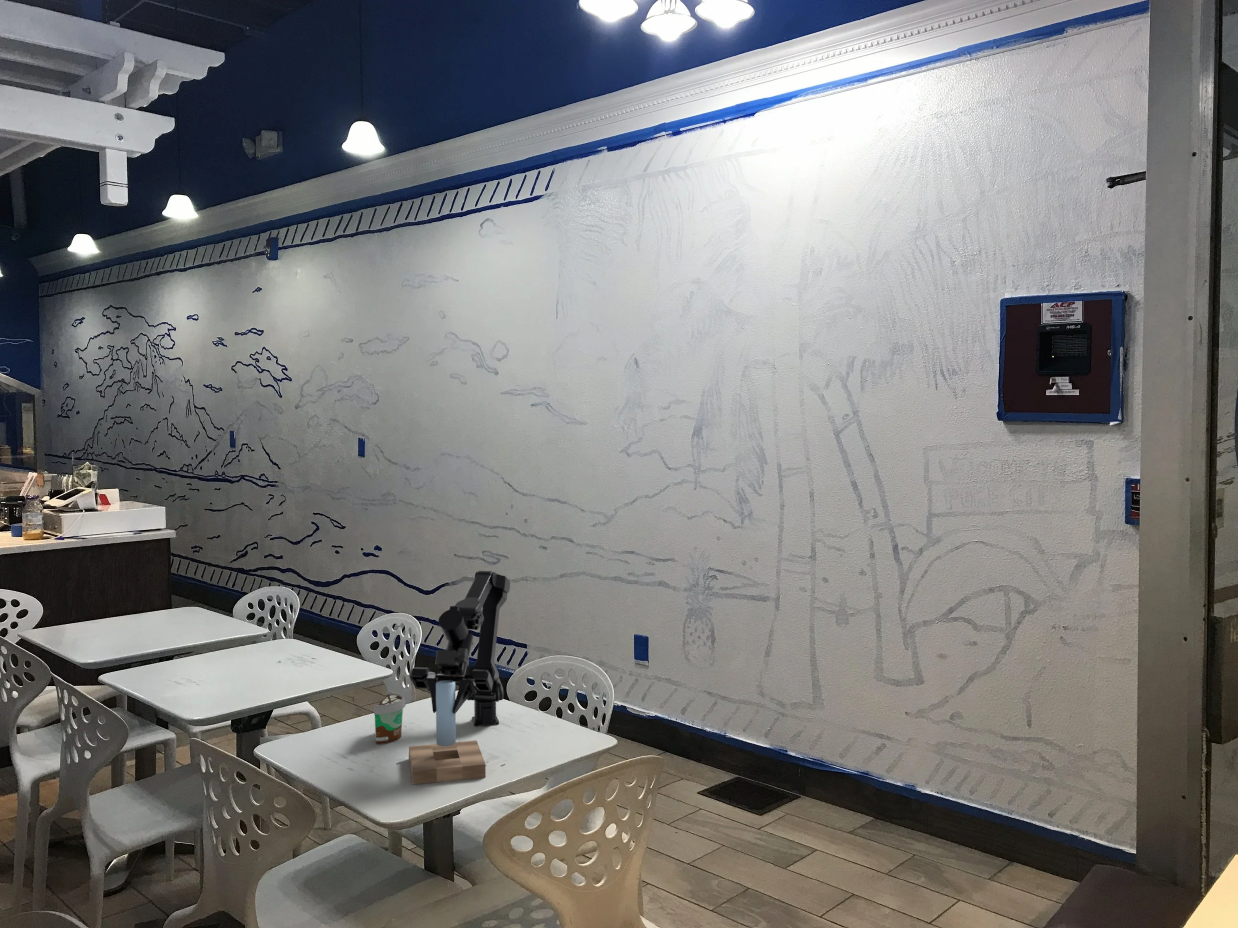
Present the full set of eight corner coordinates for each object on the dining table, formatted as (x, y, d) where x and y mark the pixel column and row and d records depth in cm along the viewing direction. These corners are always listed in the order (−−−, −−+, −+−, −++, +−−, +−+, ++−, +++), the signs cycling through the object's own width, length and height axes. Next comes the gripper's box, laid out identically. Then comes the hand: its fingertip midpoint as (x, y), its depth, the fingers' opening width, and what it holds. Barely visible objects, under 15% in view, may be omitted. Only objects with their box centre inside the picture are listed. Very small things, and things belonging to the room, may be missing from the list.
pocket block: (408, 758, 228) (408, 746, 228) (476, 752, 232) (476, 740, 232) (413, 784, 212) (412, 770, 212) (485, 776, 217) (485, 763, 217)
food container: (399, 746, 236) (398, 706, 236) (374, 745, 236) (373, 705, 236) (411, 729, 249) (410, 691, 248) (387, 729, 249) (386, 691, 248)
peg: (435, 740, 224) (435, 681, 223) (454, 738, 225) (454, 679, 224) (437, 746, 219) (436, 686, 218) (456, 745, 220) (456, 685, 220)
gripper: (411, 633, 226) (395, 693, 215) (489, 635, 223) (476, 697, 213) (423, 657, 234) (408, 716, 224) (498, 660, 231) (486, 720, 221)
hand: (443, 712), depth 220 cm, fingers closed on peg, 4 cm apart
